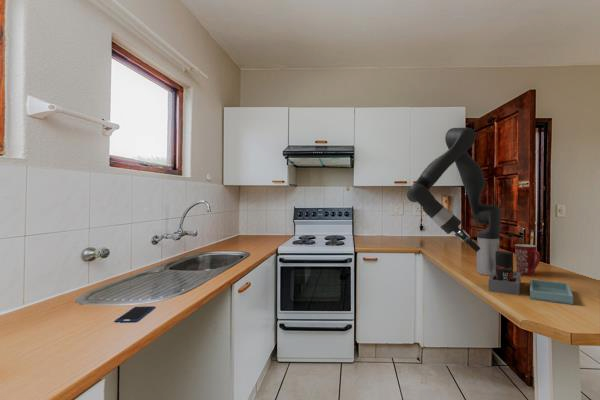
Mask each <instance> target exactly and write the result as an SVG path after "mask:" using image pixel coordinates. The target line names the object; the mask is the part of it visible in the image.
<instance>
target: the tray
mask: <svg viewBox="0 0 600 400" xmlns="http://www.w3.org/2000/svg"><path fill="white" fill-rule="evenodd" d="M529 300H533V301H534V300H535V301H542V302H547V303H548V302H549V303H557V304H562V305H563V304H564V305H571V306H574V295H573V292H572V290H571V287H570V285H569V283H566V282H559V281H549V280H541V279H531V278H530V279H529Z"/></svg>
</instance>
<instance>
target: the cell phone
mask: <svg viewBox="0 0 600 400" xmlns="http://www.w3.org/2000/svg"><path fill="white" fill-rule="evenodd" d="M155 309H156V306H153V305H152V306H149V305H147V306H146V305H145V306H134V307H133V308H131V309H129V310H128V311H127V312H125V313H123V314H122V315H120V317H118V318H117V319H115V320H114V321H113V322H120V323H121V324H123V323H125V324H126V323H139V322H140V321H141V320H142V319H144V318H145V317H146V316H148V315H149V314H150V313H151V312H153V311H154V310H155ZM120 323H119V324H120Z"/></svg>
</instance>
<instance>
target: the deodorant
mask: <svg viewBox="0 0 600 400" xmlns="http://www.w3.org/2000/svg"><path fill="white" fill-rule="evenodd" d="M495 255H496V280H502V281H510V282H513V272H514V253H513V252H512V251H504V250H500V251H496V252H495Z"/></svg>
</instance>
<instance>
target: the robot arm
mask: <svg viewBox="0 0 600 400" xmlns="http://www.w3.org/2000/svg"><path fill="white" fill-rule="evenodd" d="M446 131H447V132H445V137H444V138H445V141H444V142H445V144H446V146H447V148H448V149H447V150H446V151H445V152H444V153H442V154H441V155H440V156H438V157H437V158H435V159H434V160H432V161H431V162H430V163H429V164H428V165H427V166H426V168H424V170H423V171H422V173H421V174H420V176H419V177H418V179H417V180H416V181H415V182H413V184H412V185H411V186H410V187H409V188H408V190H407V192H406V197H407V199H408V200H409V201H410V202H411V203H418V204H419V205H420V206H421V207H422V210H423V212H424V213H425V214H426V215H427V216H429V218H430V219H432V220H433V222H434V223H435V224H436V225H437V226H438V227H439V228H440V229H441V230H443V231H444V233H446V234H447V235H450V234H451V233H452V232H454V235H455V237H457V239H459V240H461V242H462V243H465V244H466V245H467V246H469V247H470V248H472V250H474V251H475V252H476V272H477V273H478V274H481V275H485V276H491V274H492V272H493V270H496V255H495V252H496V251H501V250H500V234H501V219H502V214H501V209H500V206H498V205H497V204H483V203H482V202H481V195H482V193H483V192H484V188H485V187H486V177H485V174H484V171H483V169H482V167H481V166H480V165H479V164H478V163H477V161H475V159H473V158H472V157H471V155H470V154H469V153H468V150H469V149H470V148H472V146H474V144H475V142H476V138H477V134H476V131H475V130H474V129H473V128H470V127H453V128H449V129H448V130H446ZM454 163H455V165H456V168H457V171H458V174H459V176H460V179H461V182H462V184H463V187H464V190H465V193H466V195H467V198H468V200H469V204H470V209H471V213H472V216H473V219H474V221H475V222H476V223H478V224H483V225H484V224H485V225H488V227H487V228H486V229H483V230H479V231H478V232H477V237H476V238H477V242H475V241H474V240H473V238H471V236H470V235H469V234H468V233H467V232H466V230H464V229H463V228H460V227H459V226H460V225H461V224H462V221H461V220H460V219H459V218H458V217H457V216H455V214H454V213H452V212H451V211H450V210H449V209H448V208H446V207H445V206H444V205H443V204H442V203H441V202H440V201H439V200H437V199H436V198H435V196H434V195H433V194H432V192H431V191H430V189H431V188H433V186H434V185H435V184H436V183H437V182H438V181H439V180H440V178H441V177H442V176H443V174H444V173H445V172H446V171H447V170H448V168H449V167H451V166H452V165H453V164H454Z"/></svg>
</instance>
